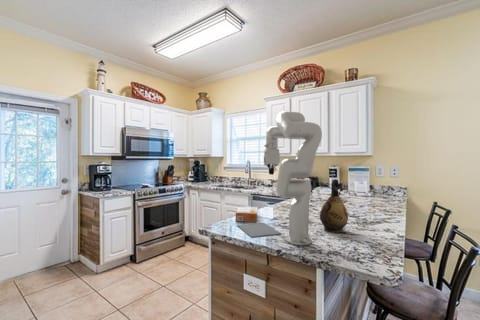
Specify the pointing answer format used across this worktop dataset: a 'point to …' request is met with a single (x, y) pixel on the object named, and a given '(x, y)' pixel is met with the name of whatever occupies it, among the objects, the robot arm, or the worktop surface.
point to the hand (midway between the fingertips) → (271, 174)
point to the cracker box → (246, 214)
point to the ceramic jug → (334, 211)
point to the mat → (258, 230)
